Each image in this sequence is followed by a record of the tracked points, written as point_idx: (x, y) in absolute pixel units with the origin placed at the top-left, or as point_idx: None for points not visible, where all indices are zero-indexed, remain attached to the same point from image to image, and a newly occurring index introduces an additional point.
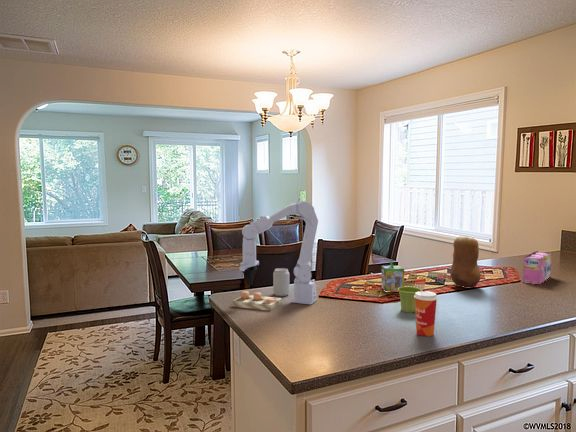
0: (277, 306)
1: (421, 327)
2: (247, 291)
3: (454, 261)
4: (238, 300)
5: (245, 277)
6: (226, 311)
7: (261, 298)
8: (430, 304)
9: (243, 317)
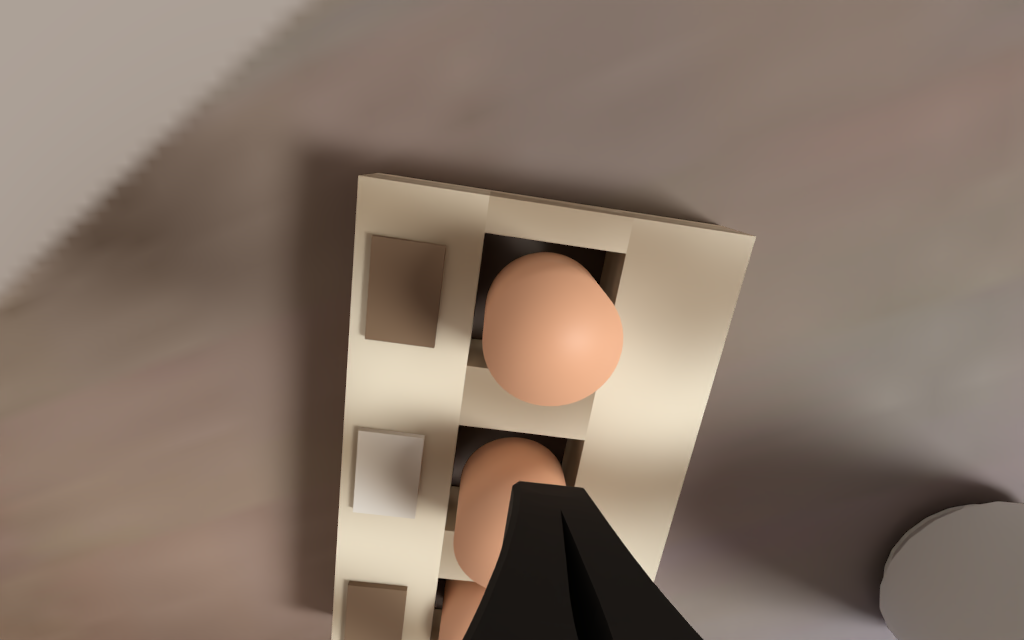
0: None
1: None
2: (606, 369)
3: None
4: (375, 272)
5: (477, 619)
6: (146, 175)
7: None
8: None
9: (41, 444)
